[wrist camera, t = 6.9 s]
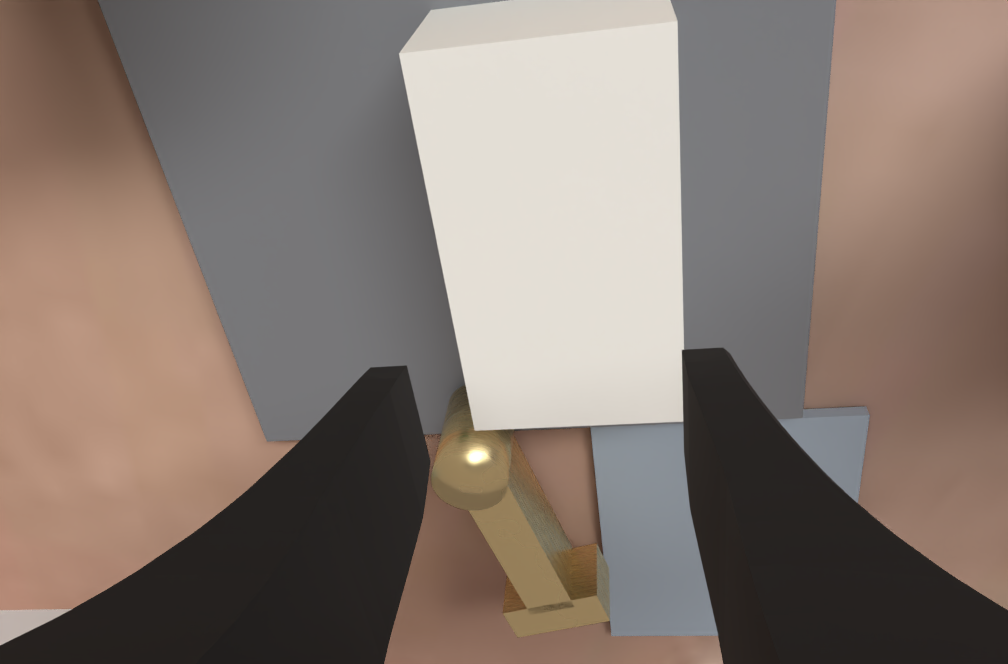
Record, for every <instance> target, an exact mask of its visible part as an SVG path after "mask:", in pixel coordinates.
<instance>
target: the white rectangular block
mask: <svg viewBox="0 0 1008 664" xmlns="http://www.w3.org/2000/svg"><path fill="white" fill-rule="evenodd" d="M399 57H400V62H401V67H402V72H403V77H404V82H405V86H406V91H407V96H408V101H409V106H410V111H411V116H412V121H413V126H414V131H415V136H416V141H417V146H418V151H419V156H420V161H421V166H422V171H423V176H424V181H425V186H426V191H427V196H428V201H429V206H430V211H431V216H432V221H433V226H434V231H435V236H436V241H437V246H438V251H439V256H440V261H441V266H442V270H443V275H444V280H445V285H446V290H447V295H448V300H449V305H450V310H451V315H452V320H453V325H454V330H455V335H456V340H457V345H458V350H459V355H460V360H461V365H462V370H463V375H464V380H465V385H466V390H467V395H468V400H469V405H470V410H471V415H472V420H473V425H474V430H475V431H479V430H502V429H525V428H548V427H571V426H594V425H617V424H640V423H662V422H683V385H682V350H684V325H683V274H682V223H681V172H680V121H679V70H678V21H677V18H676V15H675V12H674V9H673V6H672V4H671V1H670V0H508V1H500V2H492V3H484V4H476V5H468V6H459V7H451V8H443V9H435V10H431V11H430V12H429V13H428V15H427V16H426V17H425V19H424V20H423V21H422V23H421V24H420V26H419V27H418V28H417V30H416V31H415V32H414V34H413V35H412V36H411V38H410V39H409V41H408V42H407V43H406V45H405V46H404V47H403V49H402V50H401V51H400V53H399Z"/></svg>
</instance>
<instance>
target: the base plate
mask: <svg viewBox="0 0 1008 664" xmlns="http://www.w3.org/2000/svg"><path fill="white" fill-rule="evenodd" d="M500 1H508V0H98V2H99V5H100V7H101V10H102V13H103V15H104V18H105V21H106V23H107V26H108V28H109V31H110V34H111V36H112V39H113V41H114V44H115V47H116V49H117V52H118V54H119V57H120V60H121V62H122V65H123V67H124V70H125V73H126V75H127V78H128V80H129V83H130V86H131V88H132V91H133V94H134V96H135V99H136V101H137V104H138V107H139V109H140V112H141V114H142V117H143V120H144V122H145V125H146V127H147V130H148V133H149V135H150V138H151V140H152V143H153V146H154V148H155V151H156V153H157V156H158V159H159V161H160V164H161V167H162V169H163V172H164V174H165V177H166V180H167V182H168V185H169V187H170V190H171V193H172V195H173V198H174V200H175V203H176V206H177V208H178V211H179V213H180V216H181V219H182V221H183V224H184V227H185V229H186V232H187V234H188V237H189V240H190V242H191V245H192V247H193V250H194V253H195V255H196V258H197V260H198V263H199V266H200V268H201V271H202V273H203V276H204V279H205V281H206V284H207V286H208V289H209V292H210V294H211V297H212V300H213V302H214V305H215V307H216V310H217V313H218V315H219V318H220V320H221V323H222V326H223V328H224V331H225V333H226V336H227V339H228V341H229V344H230V346H231V349H232V352H233V354H234V357H235V359H236V362H237V365H238V367H239V370H240V373H241V375H242V378H243V380H244V383H245V386H246V388H247V391H248V393H249V396H250V399H251V401H252V404H253V406H254V409H255V412H256V414H257V417H258V419H259V422H260V425H261V427H262V430H263V432H264V435H265V438H266V440H267V441H289V440H301V439H302V438H303V437H304V436H305V435H306V434H307V433H308V432H309V431H310V430H311V429H312V428H313V427H314V426H315V425H316V424H317V423H318V422H319V421H320V420H321V419H322V418H323V417H324V416H325V415H326V414H327V413H328V411H329V410H330V409H331V408H332V407H333V406H334V405H335V404H336V403H337V402H338V401H339V400H340V399H341V398H342V396H343V395H344V394H345V393H346V392H347V391H348V390H349V389H350V388H351V387H352V386H353V385H354V384H355V383H356V382H357V380H358V379H359V378H360V377H361V376H362V375H363V374H364V373H365V372H366V371H367V370H368V369H369V368H370V367H387V366H405V365H407V368H408V372H409V376H410V380H411V384H412V388H413V393H414V397H415V401H416V405H417V409H418V413H419V417H420V421H421V425H422V429H423V433H424V435H427V434H441V433H442V428H443V424H444V420H445V416H446V412H447V407H448V403H449V400H450V397H451V396H452V394H453V393H454V392H455V391H456V390H457V389H458V388H460V387H462V386H464V385H465V380H464V375H463V370H462V365H461V360H460V355H459V350H458V345H457V340H456V335H455V330H454V325H453V320H452V315H451V310H450V305H449V300H448V295H447V290H446V285H445V280H444V275H443V270H442V266H441V261H440V256H439V251H438V246H437V241H436V236H435V231H434V226H433V221H432V216H431V211H430V206H429V201H428V196H427V191H426V186H425V181H424V176H423V171H422V166H421V161H420V156H419V151H418V146H417V141H416V136H415V131H414V126H413V121H412V116H411V111H410V106H409V101H408V96H407V91H406V86H405V82H404V77H403V72H402V67H401V62H400V57H399V53H400V51H401V50H402V49H403V47H404V46H405V45H406V43H407V42H408V41H409V39H410V38H411V36H412V35H413V34H414V32H415V31H416V30H417V28H418V27H419V26H420V24H421V23H422V21H423V20H424V19H425V17H426V16H427V15H428V13H429V12H430V11H431V10H435V9H443V8H451V7H459V6H468V5H476V4H484V3H492V2H500ZM670 1H671V4H672V6H673V9H674V12H675V15H676V18H677V21H678V70H679V121H680V172H681V223H682V274H683V325H684V350H687V349H704V348H722V347H723V348H724V349H726V350H727V351H728V352H729V353H730V354H731V356H732V357H733V359H734V361H735V362H736V364H737V366H738V367H739V369H740V370H741V372H742V373H743V375H744V376H745V378H746V379H747V381H748V382H749V384H750V385H751V386H752V388H753V389H754V390H755V392H756V393H757V394H758V396H759V397H760V399H761V400H762V401H763V403H764V404H765V405H766V406H767V408H768V409H769V410H770V411H771V413H772V414H773V415H774V416H775V417H776V419H796V418H803V408H804V395H805V383H806V370H807V358H808V345H809V333H810V320H811V308H812V296H813V283H814V271H815V258H816V246H817V233H818V221H819V208H820V196H821V183H822V171H823V159H824V146H825V134H826V121H827V109H828V96H829V84H830V71H831V59H832V46H833V34H834V21H835V9H836V0H670ZM681 423H683V422H662V423H640V424H617V425H594V426H571V427H548V428H525V429H515V431H519V430H542V429H565V428H588V427H611V426H634V425H657V424H681Z"/></svg>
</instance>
